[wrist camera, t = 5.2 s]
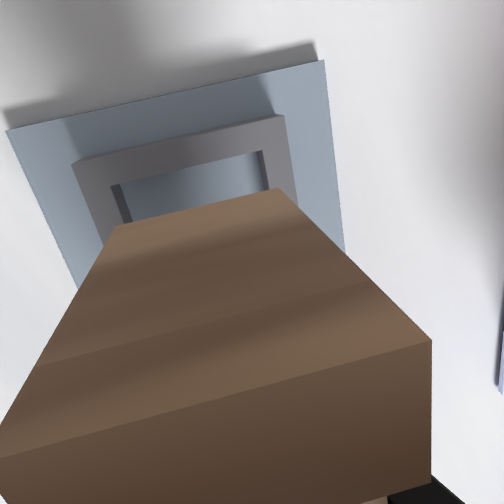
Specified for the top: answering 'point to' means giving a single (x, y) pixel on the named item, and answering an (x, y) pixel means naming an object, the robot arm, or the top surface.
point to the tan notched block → (223, 372)
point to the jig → (183, 157)
